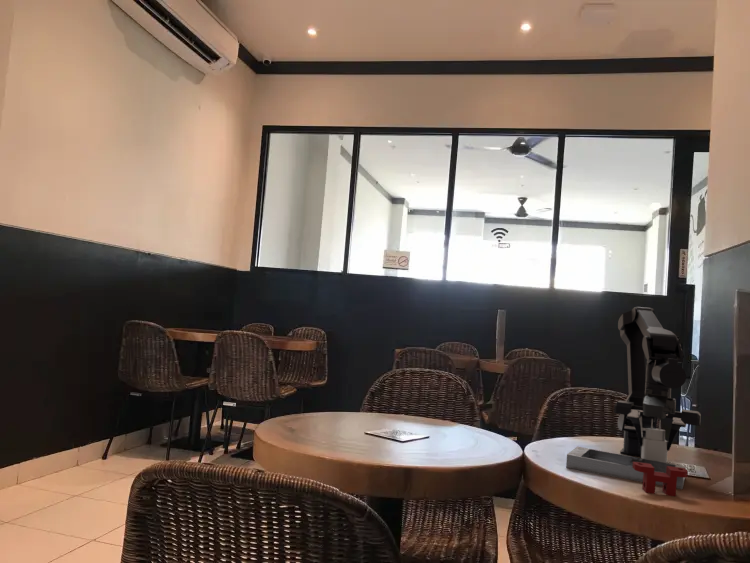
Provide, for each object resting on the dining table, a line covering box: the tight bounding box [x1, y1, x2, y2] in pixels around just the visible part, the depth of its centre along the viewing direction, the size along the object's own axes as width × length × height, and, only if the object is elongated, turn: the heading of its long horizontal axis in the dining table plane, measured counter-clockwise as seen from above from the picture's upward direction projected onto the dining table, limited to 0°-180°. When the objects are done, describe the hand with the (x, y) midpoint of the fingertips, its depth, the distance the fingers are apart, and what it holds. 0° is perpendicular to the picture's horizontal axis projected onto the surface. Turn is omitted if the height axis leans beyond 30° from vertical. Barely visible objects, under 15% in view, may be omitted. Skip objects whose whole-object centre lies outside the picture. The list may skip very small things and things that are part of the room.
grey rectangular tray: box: [565, 445, 687, 490], centre depth 134 cm, size 12×24×3 cm, turn 59°
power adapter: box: [640, 419, 669, 463], centre depth 141 cm, size 3×5×12 cm, turn 82°
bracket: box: [633, 462, 689, 497], centre depth 118 cm, size 3×6×10 cm
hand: (654, 448), depth 141 cm, fingers closed on power adapter, 6 cm apart
